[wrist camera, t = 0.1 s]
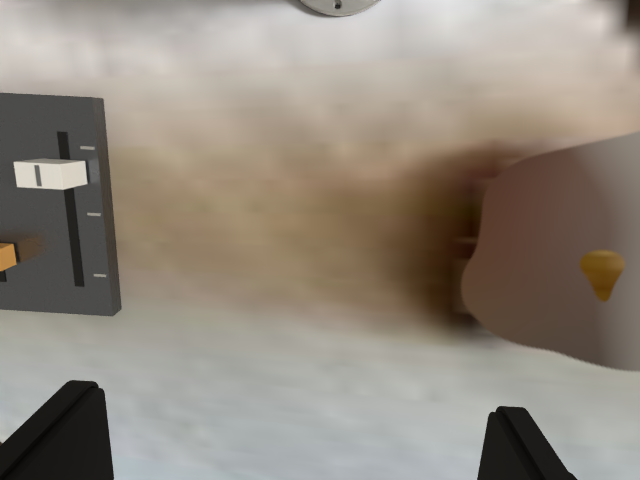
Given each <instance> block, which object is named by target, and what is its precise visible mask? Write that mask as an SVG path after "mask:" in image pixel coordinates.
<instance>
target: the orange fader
mask: <svg viewBox="0 0 640 480" xmlns="http://www.w3.org/2000/svg"><path fill="white" fill-rule="evenodd" d="M14 265H17V264H16V258H15V251H14V245H13V244H7V243H0V271H3V270H5V269H7V268H10V267H12V266H14Z"/></svg>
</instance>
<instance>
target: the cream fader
mask: <svg viewBox="0 0 640 480" xmlns="http://www.w3.org/2000/svg"><path fill="white" fill-rule="evenodd" d="M14 169H15V176H16V182H17V187H25V188H43V189H61V190H64V189H68V188H72V187H76V186H81V185H85V184H87V176H86V166H85V161H80V160H61V159H34V160H25V161H16V162H14Z"/></svg>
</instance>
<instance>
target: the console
mask: <svg viewBox="0 0 640 480" xmlns="http://www.w3.org/2000/svg"><path fill="white" fill-rule="evenodd" d="M34 159H61V160H80V161H85V166H86V176H87V184H85V185H81V186H76V187H72V188H68V189H64V190H61V189H43V188H25V187H17V182H16V176H15V169H14V162H16V161H25V160H34ZM0 243H7V244H13V245H14V251H15V258H16V264H17V265H14V266H12V267H10V268H7V269H5V270H3V271H0V309H3V310H19V311H35V312H51V313H68V314H84V315H100V316H114V315H115V314H116V313H117V312H118V311H120V310H121V298H120V286H119V274H118V263H117V251H116V240H115V228H114V217H113V205H112V193H111V182H110V170H109V159H108V147H107V136H106V124H105V112H104V101H103V99H102V98H93V97H74V96H54V95H33V94H13V93H0Z"/></svg>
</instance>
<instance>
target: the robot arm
mask: <svg viewBox="0 0 640 480" xmlns="http://www.w3.org/2000/svg"><path fill="white" fill-rule="evenodd" d="M300 1H301V2H302V3H303V4H304V5H306V6H308V7H309V8H311V9H313V10H315V11H317V12H320V13H323V14H326V15H333V16H347V15H354V14H357V13H360V12H363V11H365V10H367V9H369V8H370V7H372V6H374V5H376V4H377V3H378V2H379V1H380V0H300ZM336 4H339V5H340V8H339V9H336V8H335V5H336ZM0 480H114V474H113V465H112V456H111V447H110V438H109V429H108V419H107V410H106V401H105V393H104V390H103V389H101V388H99V387H98V384H97V383H96V382H94V381H77V380H71V381H68V382H67V383H66V384H65V385H64V386H62V387H61V388H60V389H59V390H58V391H57V392H56V393H55V394H54V395H53V396H52V397H51V398H50V399H49V400H48V401H47V402H46V403H45V404H44V405H43V406H41V407H40V408H39V409H38V410H37V411H36V412H35V413H34V414H33V415H32V416H31V417H30V418H29V419H28V420H27V421H26V422H25V423H24V424H23V425H22V426H21V427H19V428H18V429H17V430H16V431H15V432H14V433H13V434H12V435H11V436H10V437H9V438H8V439H7V440H6V441H5V442H4V443H3V444H2V445H1V446H0ZM477 480H577V479H576V478H575V476H574V475H573V474H571V473H570V472H568V471H567V469H566V468H565V466H564V465H563V463H562V462H561V460H560V459H559V457H558V456H557V454H556V453H555V451H554V450H553V448H552V447H551V445H550V444H549V442H548V441H547V439H546V438H545V436H544V435H543V433H542V432H541V430H540V429H539V427H538V426H537V424H536V423H535V421H534V420H533V418H532V417H531V416H530V414H529V413H528V411H527V410H526V409H525V408H523V407H507V406H499V407H498V408H497V409H496V412H491V413H490V414H489V416H488V422H487V427H486V433H485V439H484V444H483V450H482V455H481V461H480V467H479V472H478V478H477Z"/></svg>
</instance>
